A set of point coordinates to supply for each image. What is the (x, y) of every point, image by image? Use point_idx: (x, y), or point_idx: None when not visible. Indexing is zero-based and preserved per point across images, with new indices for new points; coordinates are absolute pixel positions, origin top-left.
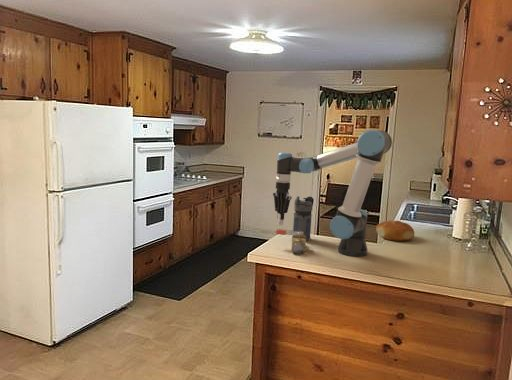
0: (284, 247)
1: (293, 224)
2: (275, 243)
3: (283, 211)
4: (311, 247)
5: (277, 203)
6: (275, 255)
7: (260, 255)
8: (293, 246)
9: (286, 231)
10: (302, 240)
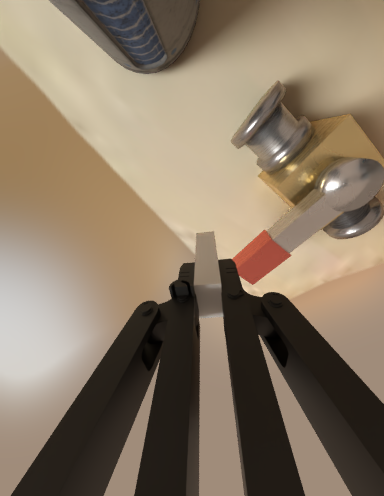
0: (247, 210)
1: (89, 31)
2: (188, 212)
3: (277, 340)
4: (320, 73)
5: (125, 409)
6: (299, 278)
7: None
8: (342, 237)
9: (290, 250)
10: None
